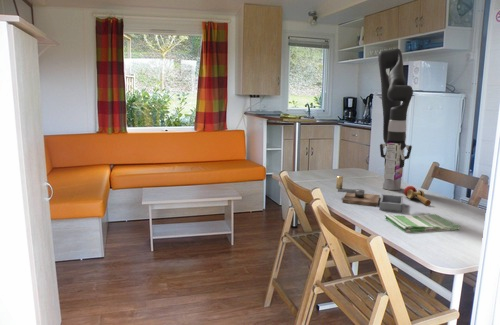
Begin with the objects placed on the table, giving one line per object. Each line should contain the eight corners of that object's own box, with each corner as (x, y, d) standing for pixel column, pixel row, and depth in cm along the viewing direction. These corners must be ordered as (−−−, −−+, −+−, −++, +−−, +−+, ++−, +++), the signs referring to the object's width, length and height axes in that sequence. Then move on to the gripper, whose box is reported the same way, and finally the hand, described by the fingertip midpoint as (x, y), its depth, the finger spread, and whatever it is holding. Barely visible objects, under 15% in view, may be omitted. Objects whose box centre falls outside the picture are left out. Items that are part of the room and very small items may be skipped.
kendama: (435, 207, 191) (414, 193, 208) (436, 195, 189) (414, 182, 205) (420, 211, 190) (400, 196, 207) (421, 199, 188) (400, 185, 204)
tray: (402, 203, 192) (402, 196, 192) (402, 212, 178) (402, 204, 177) (381, 201, 196) (381, 194, 195) (379, 209, 181) (379, 202, 181)
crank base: (379, 197, 202) (379, 194, 202) (377, 206, 187) (377, 202, 187) (346, 194, 207) (347, 191, 207) (342, 202, 193) (342, 199, 192)
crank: (364, 195, 199) (365, 177, 197) (363, 197, 194) (364, 179, 193) (336, 192, 203) (337, 175, 202) (335, 194, 199) (336, 177, 198)
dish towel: (461, 231, 156) (462, 224, 155) (405, 234, 152) (405, 227, 152) (433, 217, 173) (434, 211, 173) (382, 219, 170) (383, 213, 169)
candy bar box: (391, 175, 190) (394, 140, 188) (402, 176, 187) (405, 141, 185) (383, 179, 182) (386, 143, 179) (394, 180, 179) (397, 144, 176)
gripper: (414, 130, 182) (410, 167, 185) (380, 128, 187) (378, 164, 190) (414, 131, 175) (410, 170, 178) (379, 130, 180) (377, 167, 183)
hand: (394, 167), depth 184 cm, fingers closed on candy bar box, 5 cm apart
